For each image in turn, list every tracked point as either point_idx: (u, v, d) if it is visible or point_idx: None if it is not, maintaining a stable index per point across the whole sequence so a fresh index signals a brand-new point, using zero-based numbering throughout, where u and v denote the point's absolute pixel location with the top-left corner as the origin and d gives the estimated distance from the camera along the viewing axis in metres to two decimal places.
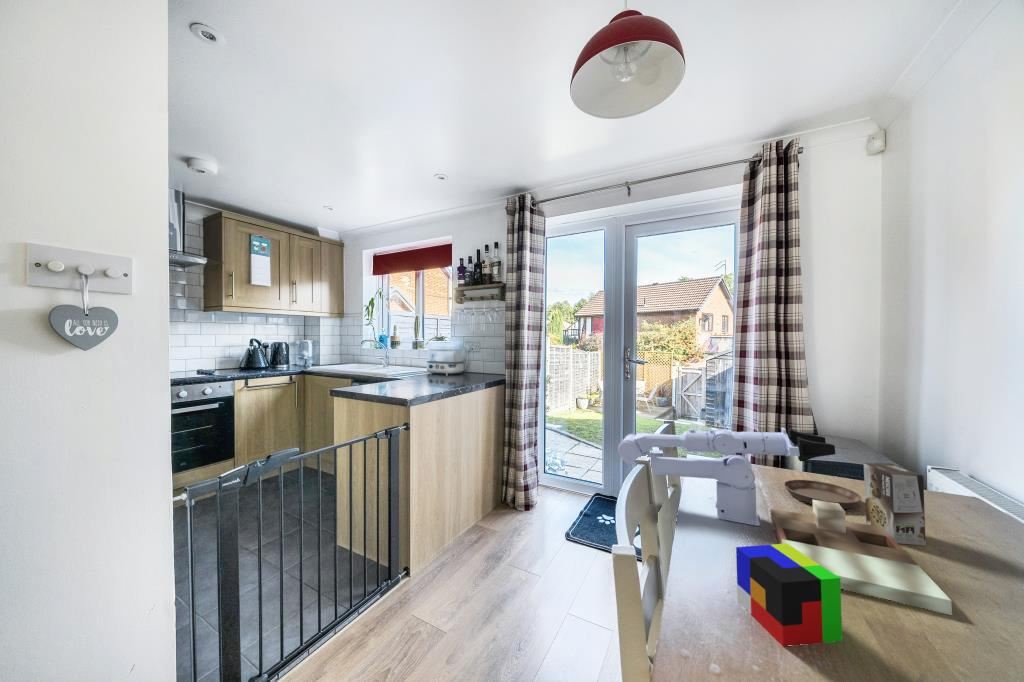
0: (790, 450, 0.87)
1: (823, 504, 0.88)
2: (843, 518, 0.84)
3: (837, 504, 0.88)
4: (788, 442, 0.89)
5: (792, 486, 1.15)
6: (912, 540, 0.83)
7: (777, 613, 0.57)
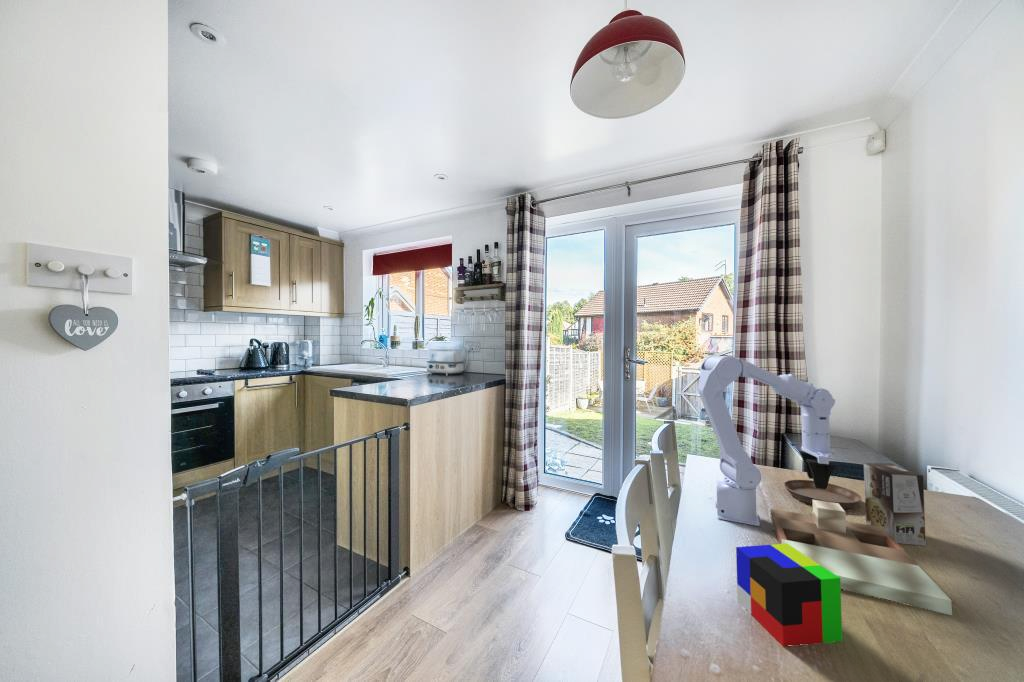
0: (824, 457, 0.90)
1: (823, 504, 0.88)
2: (843, 518, 0.84)
3: (837, 504, 0.88)
4: (828, 455, 0.91)
5: (792, 486, 1.15)
6: (912, 540, 0.83)
7: (777, 613, 0.57)
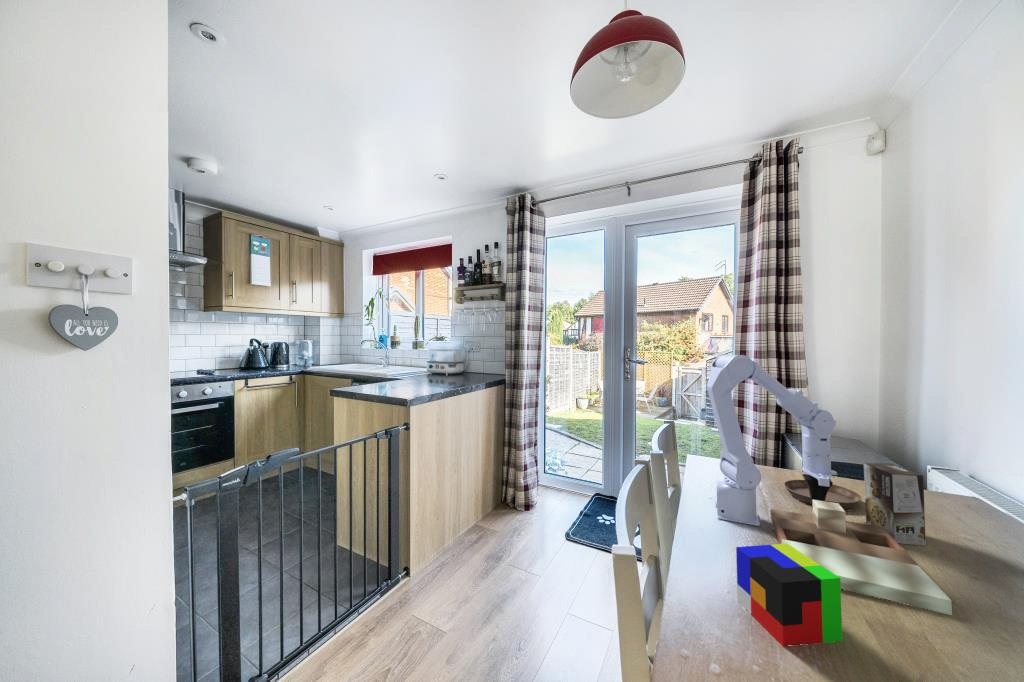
0: (825, 479, 0.90)
1: (823, 504, 0.88)
2: (843, 518, 0.84)
3: (837, 504, 0.88)
4: (829, 477, 0.91)
5: (792, 486, 1.15)
6: (912, 540, 0.83)
7: (777, 613, 0.57)
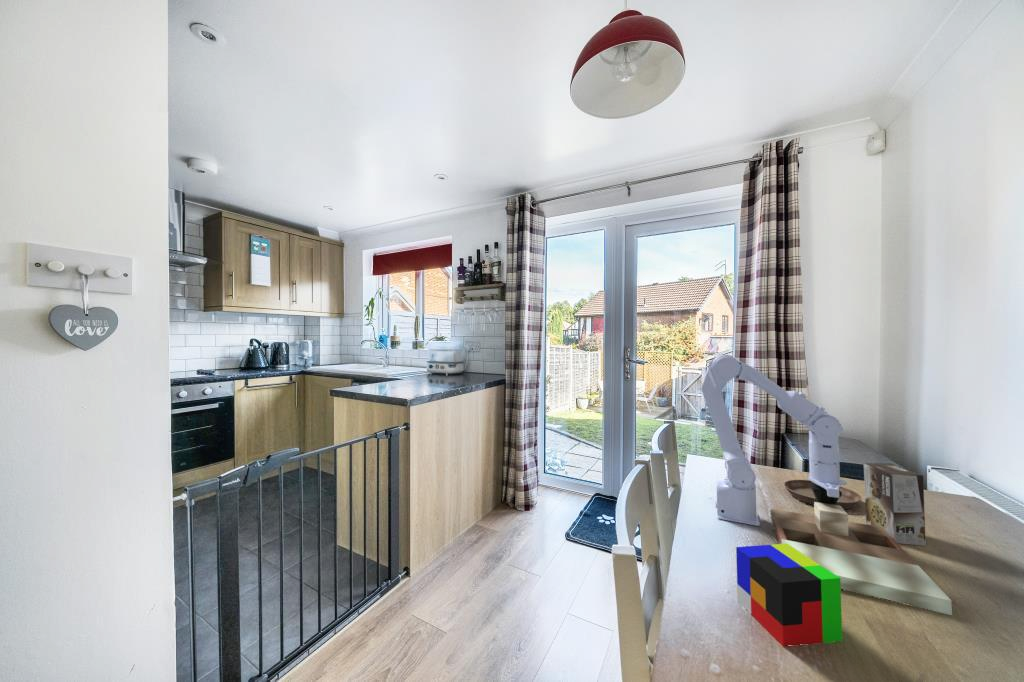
0: (835, 490, 0.83)
1: (825, 507, 0.86)
2: (845, 521, 0.83)
3: (839, 506, 0.86)
4: (838, 487, 0.85)
5: (792, 486, 1.15)
6: (912, 540, 0.83)
7: (777, 613, 0.57)
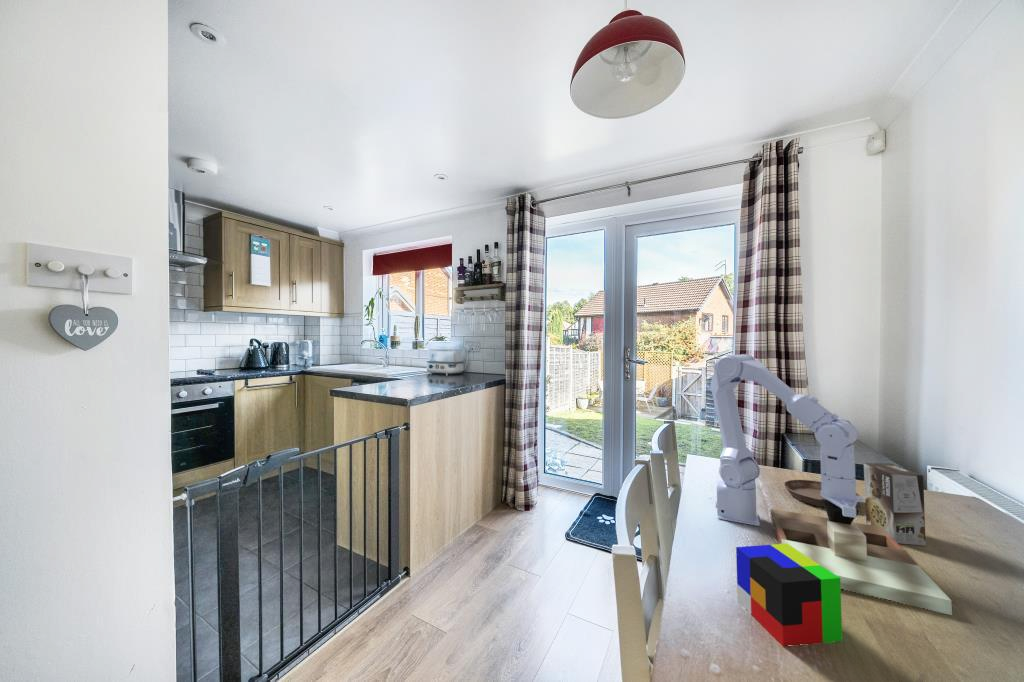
0: (851, 509, 0.74)
1: (840, 527, 0.77)
2: (864, 544, 0.73)
3: (856, 527, 0.77)
4: (855, 506, 0.75)
5: (792, 486, 1.15)
6: (912, 540, 0.83)
7: (777, 613, 0.57)
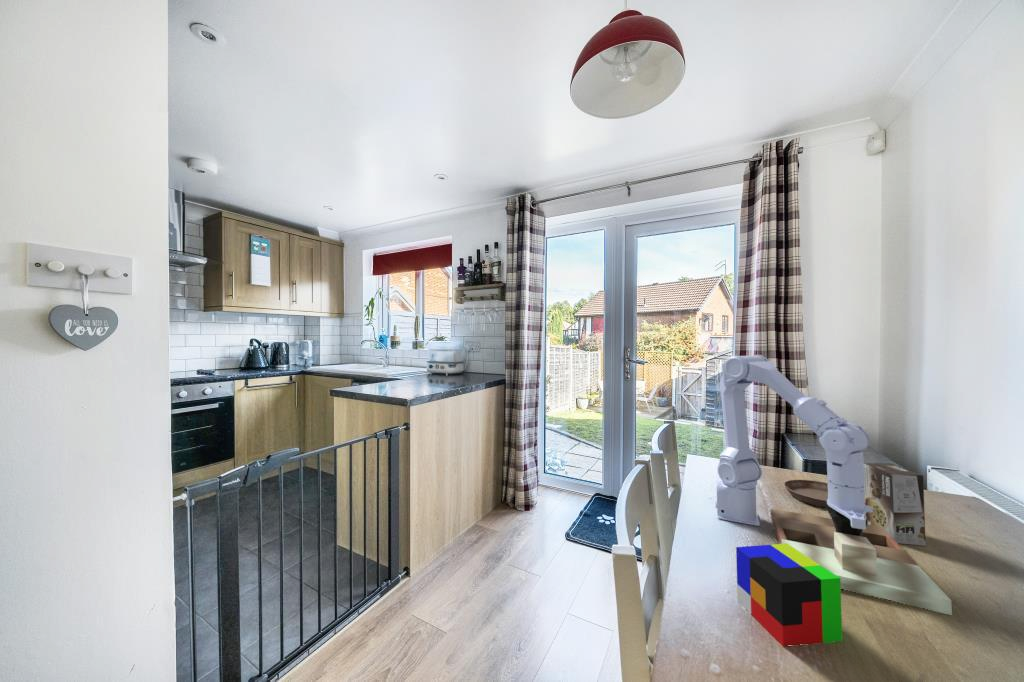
0: (860, 520, 0.69)
1: (848, 539, 0.72)
2: (874, 558, 0.69)
3: (865, 539, 0.72)
4: (864, 516, 0.71)
5: (792, 486, 1.15)
6: (912, 540, 0.83)
7: (777, 613, 0.57)
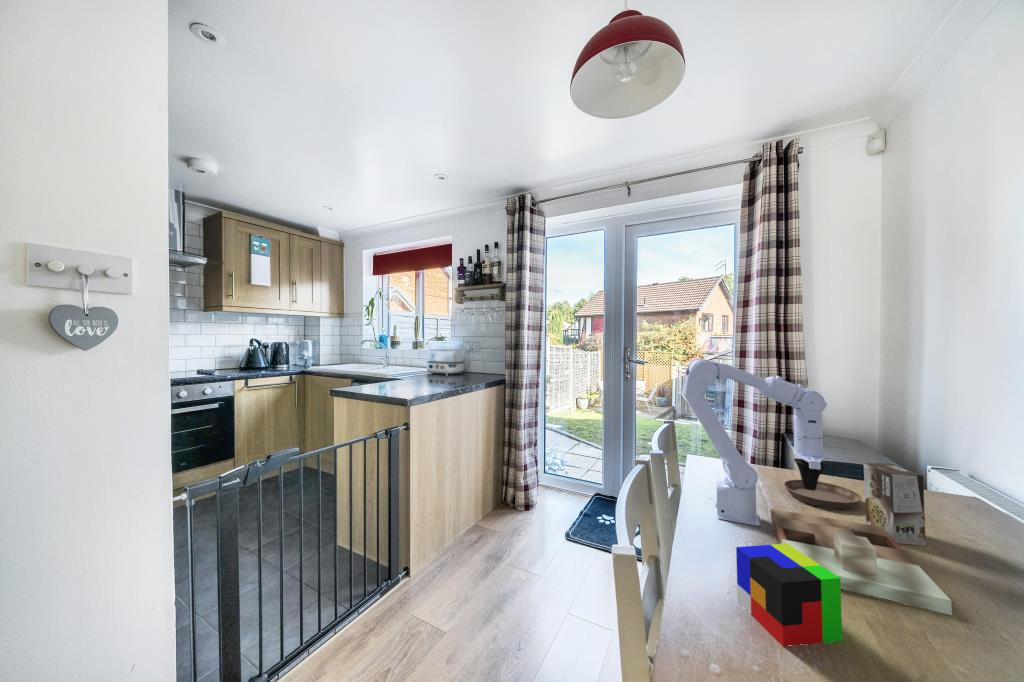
0: (816, 462, 0.86)
1: (848, 539, 0.72)
2: (874, 558, 0.69)
3: (865, 539, 0.72)
4: (820, 460, 0.88)
5: (792, 486, 1.15)
6: (912, 540, 0.83)
7: (777, 613, 0.57)
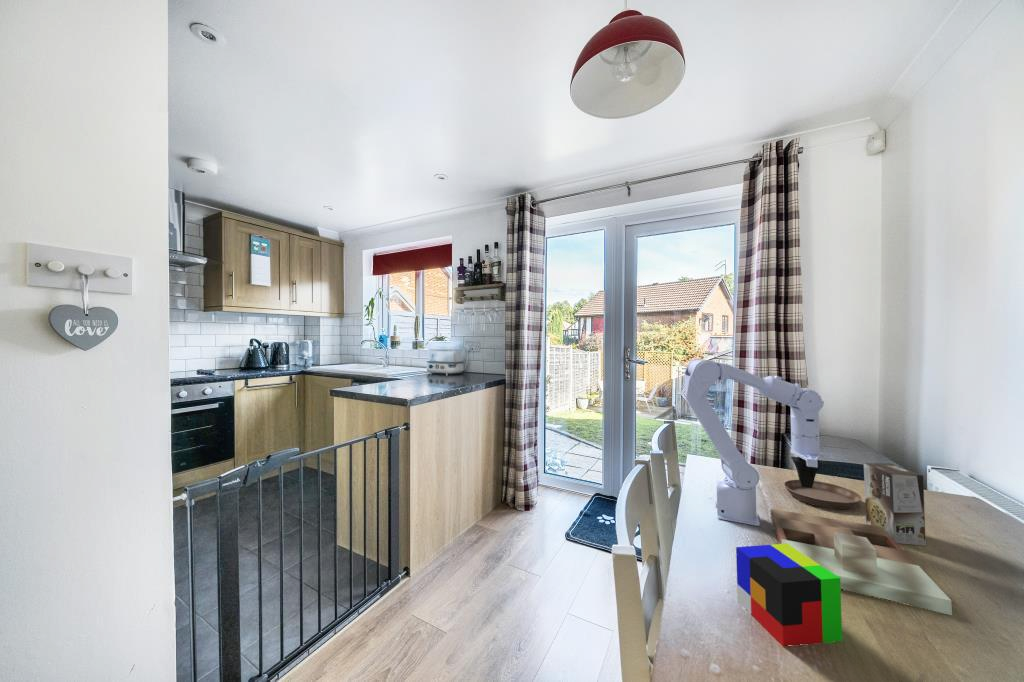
0: (813, 460, 0.88)
1: (848, 539, 0.72)
2: (874, 558, 0.69)
3: (865, 539, 0.72)
4: (817, 458, 0.89)
5: (792, 486, 1.15)
6: (912, 540, 0.83)
7: (777, 613, 0.57)
